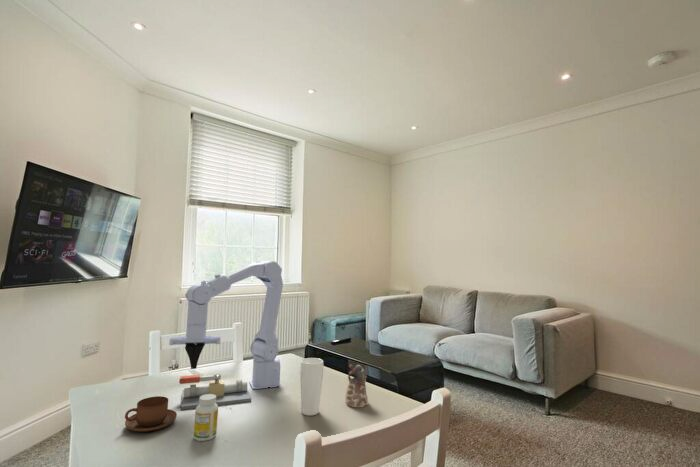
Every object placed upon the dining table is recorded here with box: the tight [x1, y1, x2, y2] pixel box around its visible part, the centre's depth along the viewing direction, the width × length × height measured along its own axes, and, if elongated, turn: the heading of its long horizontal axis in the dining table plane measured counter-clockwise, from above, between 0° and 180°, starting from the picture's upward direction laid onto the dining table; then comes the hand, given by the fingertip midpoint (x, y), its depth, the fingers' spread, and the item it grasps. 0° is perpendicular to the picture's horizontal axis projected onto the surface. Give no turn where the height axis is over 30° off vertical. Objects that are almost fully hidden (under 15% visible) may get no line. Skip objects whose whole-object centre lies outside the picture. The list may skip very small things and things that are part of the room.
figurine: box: [345, 364, 369, 408], centre depth 114 cm, size 7×7×12 cm
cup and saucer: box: [124, 395, 178, 433], centre depth 95 cm, size 12×12×6 cm
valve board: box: [180, 379, 252, 411], centre depth 115 cm, size 20×14×5 cm
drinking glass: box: [299, 357, 324, 417], centre depth 106 cm, size 7×7×15 cm
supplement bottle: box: [193, 394, 219, 442], centre depth 90 cm, size 5×5×10 cm
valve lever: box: [178, 373, 222, 385], centre depth 114 cm, size 12×2×2 cm, turn 112°
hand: (193, 367), depth 111 cm, fingers closed
